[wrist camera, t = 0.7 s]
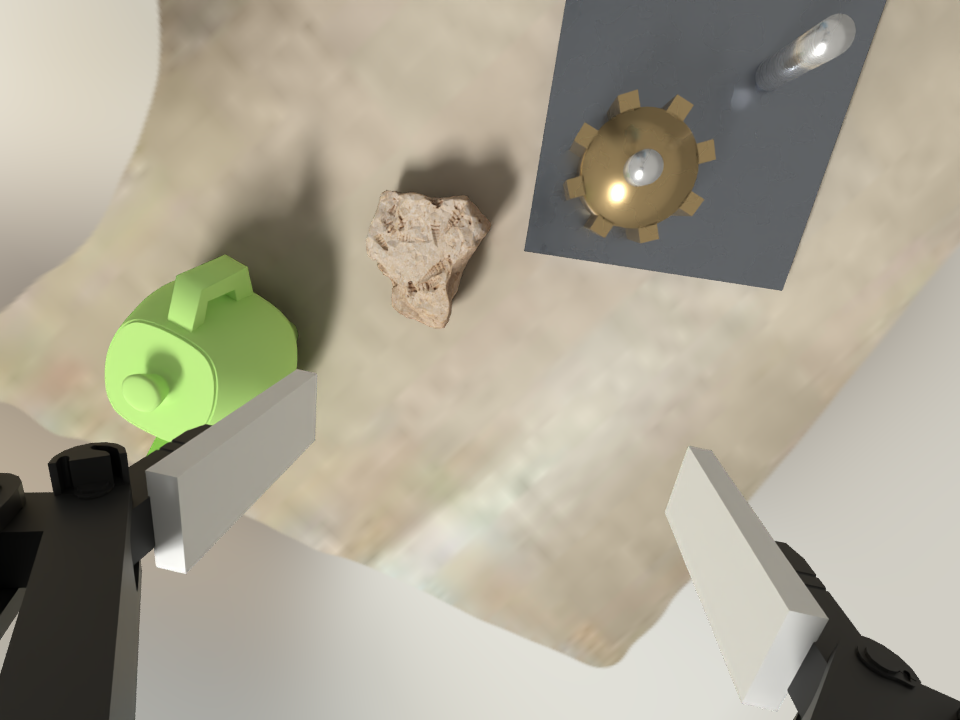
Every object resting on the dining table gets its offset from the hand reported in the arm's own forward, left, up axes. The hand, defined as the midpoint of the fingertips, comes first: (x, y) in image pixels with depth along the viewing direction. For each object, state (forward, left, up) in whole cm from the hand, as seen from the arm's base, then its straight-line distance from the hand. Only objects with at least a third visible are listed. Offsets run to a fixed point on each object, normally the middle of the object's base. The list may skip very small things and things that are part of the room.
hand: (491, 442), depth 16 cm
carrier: (-15, +10, -25) cm, 30 cm away
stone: (-4, -8, -25) cm, 27 cm away
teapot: (+8, -25, -25) cm, 37 cm away
